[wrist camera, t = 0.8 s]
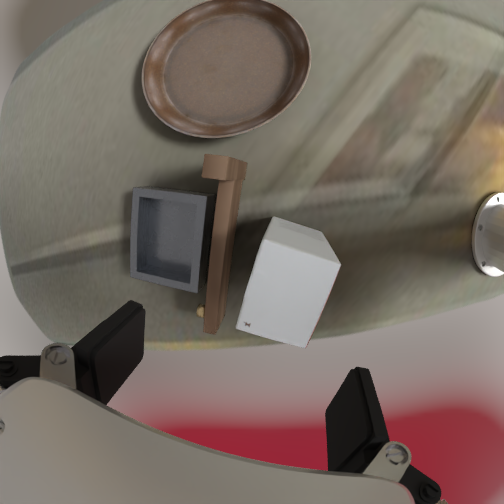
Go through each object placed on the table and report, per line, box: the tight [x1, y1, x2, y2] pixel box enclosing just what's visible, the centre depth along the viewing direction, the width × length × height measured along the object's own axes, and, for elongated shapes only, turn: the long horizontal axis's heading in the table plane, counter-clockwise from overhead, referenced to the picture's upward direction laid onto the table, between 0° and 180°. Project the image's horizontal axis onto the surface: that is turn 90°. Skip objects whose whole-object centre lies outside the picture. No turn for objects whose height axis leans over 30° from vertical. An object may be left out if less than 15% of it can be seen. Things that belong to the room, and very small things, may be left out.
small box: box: [236, 217, 341, 348], centre depth 27 cm, size 8×6×13 cm
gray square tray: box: [130, 186, 216, 293], centre depth 33 cm, size 10×12×4 cm
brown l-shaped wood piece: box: [197, 154, 247, 334], centre depth 29 cm, size 3×20×10 cm, turn 171°
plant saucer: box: [142, 0, 311, 138], centre depth 26 cm, size 21×21×3 cm
